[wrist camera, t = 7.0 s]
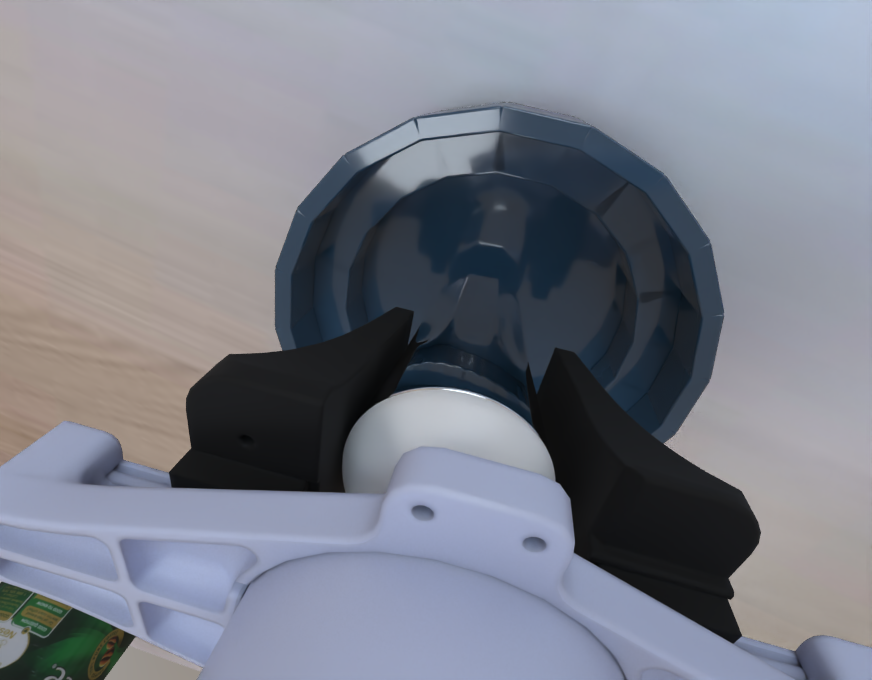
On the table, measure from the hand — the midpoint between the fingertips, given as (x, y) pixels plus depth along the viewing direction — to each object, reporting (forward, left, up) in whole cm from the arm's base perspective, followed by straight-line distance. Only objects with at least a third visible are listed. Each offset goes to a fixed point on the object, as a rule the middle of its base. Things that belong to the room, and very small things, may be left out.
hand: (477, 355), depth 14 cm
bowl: (0, 0, -5) cm, 5 cm away
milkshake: (0, 0, -3) cm, 3 cm away
